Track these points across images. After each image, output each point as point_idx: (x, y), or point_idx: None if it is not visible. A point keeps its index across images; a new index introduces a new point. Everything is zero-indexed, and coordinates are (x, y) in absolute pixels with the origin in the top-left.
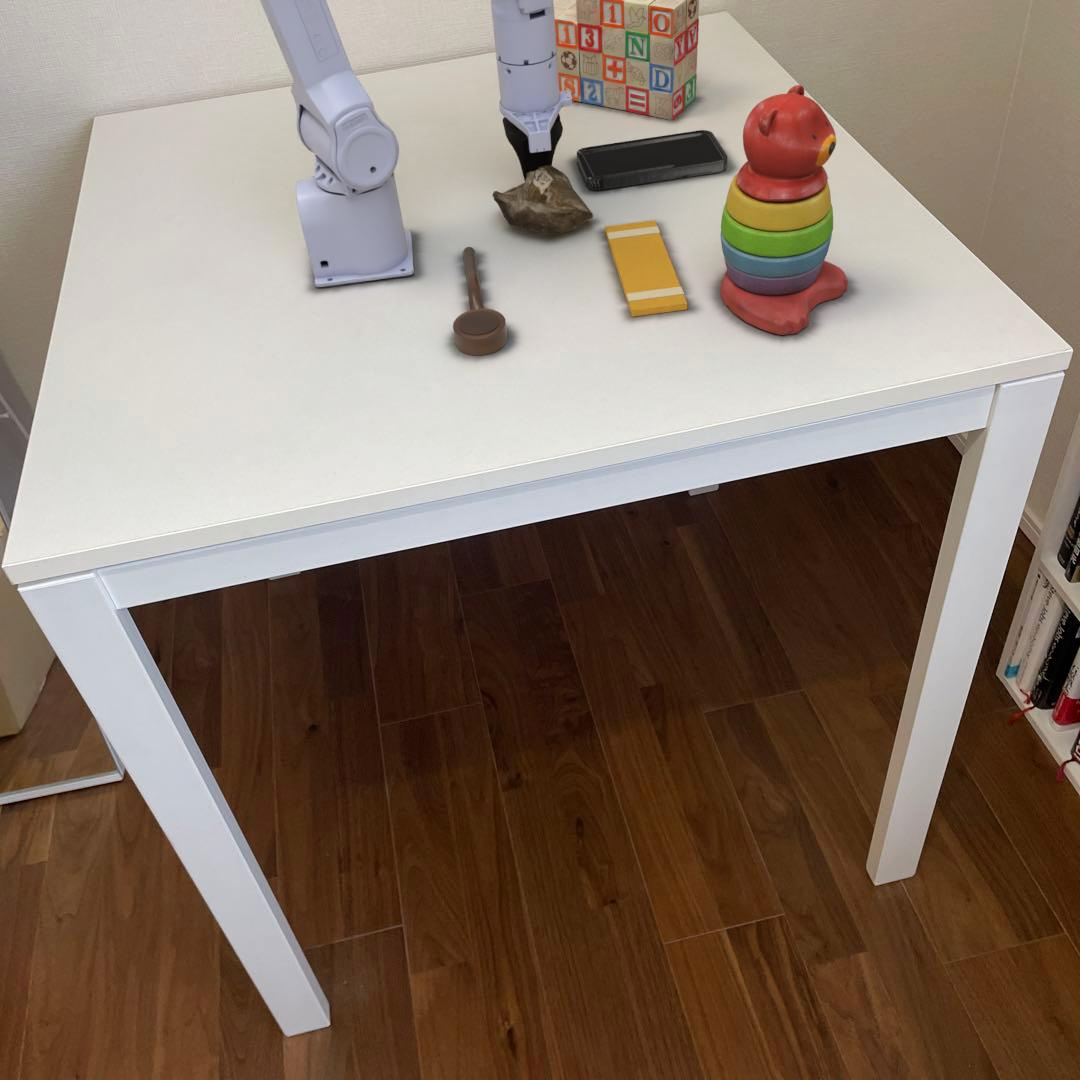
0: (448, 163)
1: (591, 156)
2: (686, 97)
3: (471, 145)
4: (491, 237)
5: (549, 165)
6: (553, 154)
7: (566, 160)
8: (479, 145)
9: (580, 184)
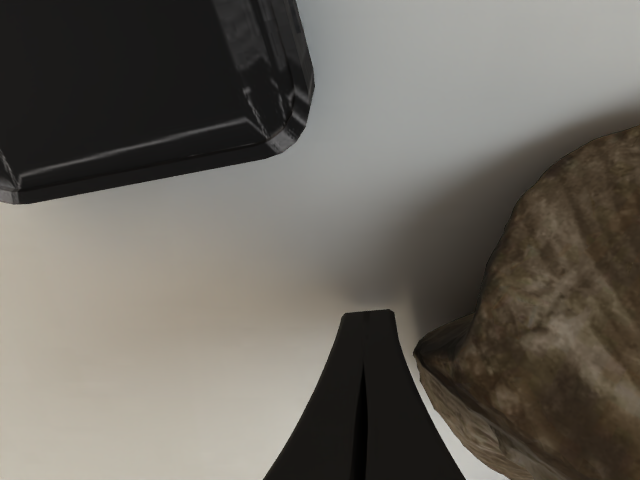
0: (134, 474)
1: (24, 133)
2: None
3: (18, 440)
4: None
5: (562, 460)
6: (446, 454)
7: (27, 214)
8: (11, 427)
9: None
